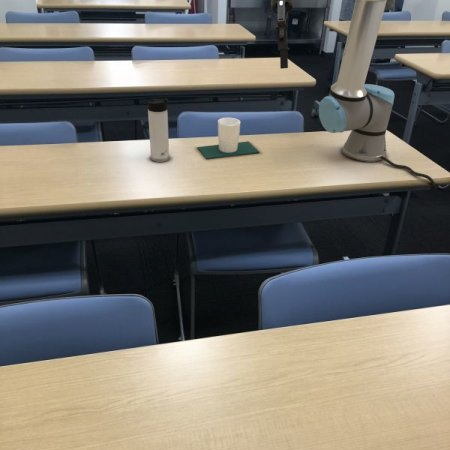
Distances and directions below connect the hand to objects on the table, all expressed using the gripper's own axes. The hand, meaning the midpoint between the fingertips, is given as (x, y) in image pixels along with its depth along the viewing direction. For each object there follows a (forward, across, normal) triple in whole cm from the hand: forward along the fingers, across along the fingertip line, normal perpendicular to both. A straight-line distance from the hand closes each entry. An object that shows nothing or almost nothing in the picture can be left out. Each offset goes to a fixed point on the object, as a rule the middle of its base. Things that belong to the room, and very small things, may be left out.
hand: (283, 59), depth 168 cm
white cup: (+29, -2, -20) cm, 36 cm away
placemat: (+30, -2, -20) cm, 36 cm away
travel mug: (+34, +10, -42) cm, 55 cm away
